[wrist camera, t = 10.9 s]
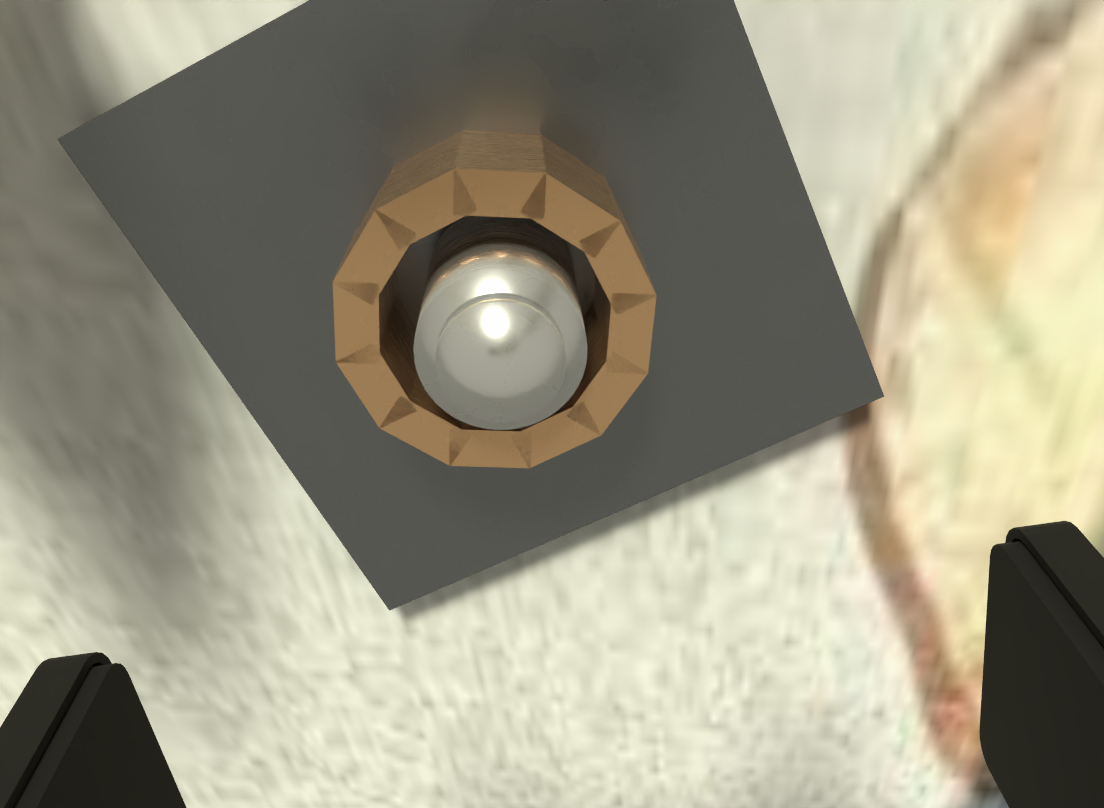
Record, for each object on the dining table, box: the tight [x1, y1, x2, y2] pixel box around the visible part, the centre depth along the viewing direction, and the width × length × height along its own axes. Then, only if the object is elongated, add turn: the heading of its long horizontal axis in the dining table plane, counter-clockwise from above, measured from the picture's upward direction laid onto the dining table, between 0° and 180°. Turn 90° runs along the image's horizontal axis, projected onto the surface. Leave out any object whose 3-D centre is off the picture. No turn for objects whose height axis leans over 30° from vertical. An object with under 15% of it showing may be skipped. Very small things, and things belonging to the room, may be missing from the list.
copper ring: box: [332, 130, 657, 468], centre depth 25 cm, size 7×7×4 cm
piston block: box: [58, 0, 884, 610], centre depth 25 cm, size 16×16×7 cm
